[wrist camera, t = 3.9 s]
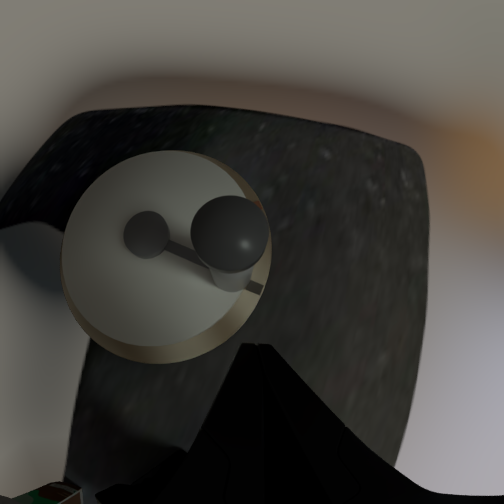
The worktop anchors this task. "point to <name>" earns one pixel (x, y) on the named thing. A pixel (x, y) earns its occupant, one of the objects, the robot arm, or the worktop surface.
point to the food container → (49, 495)
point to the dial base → (208, 337)
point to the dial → (161, 248)
